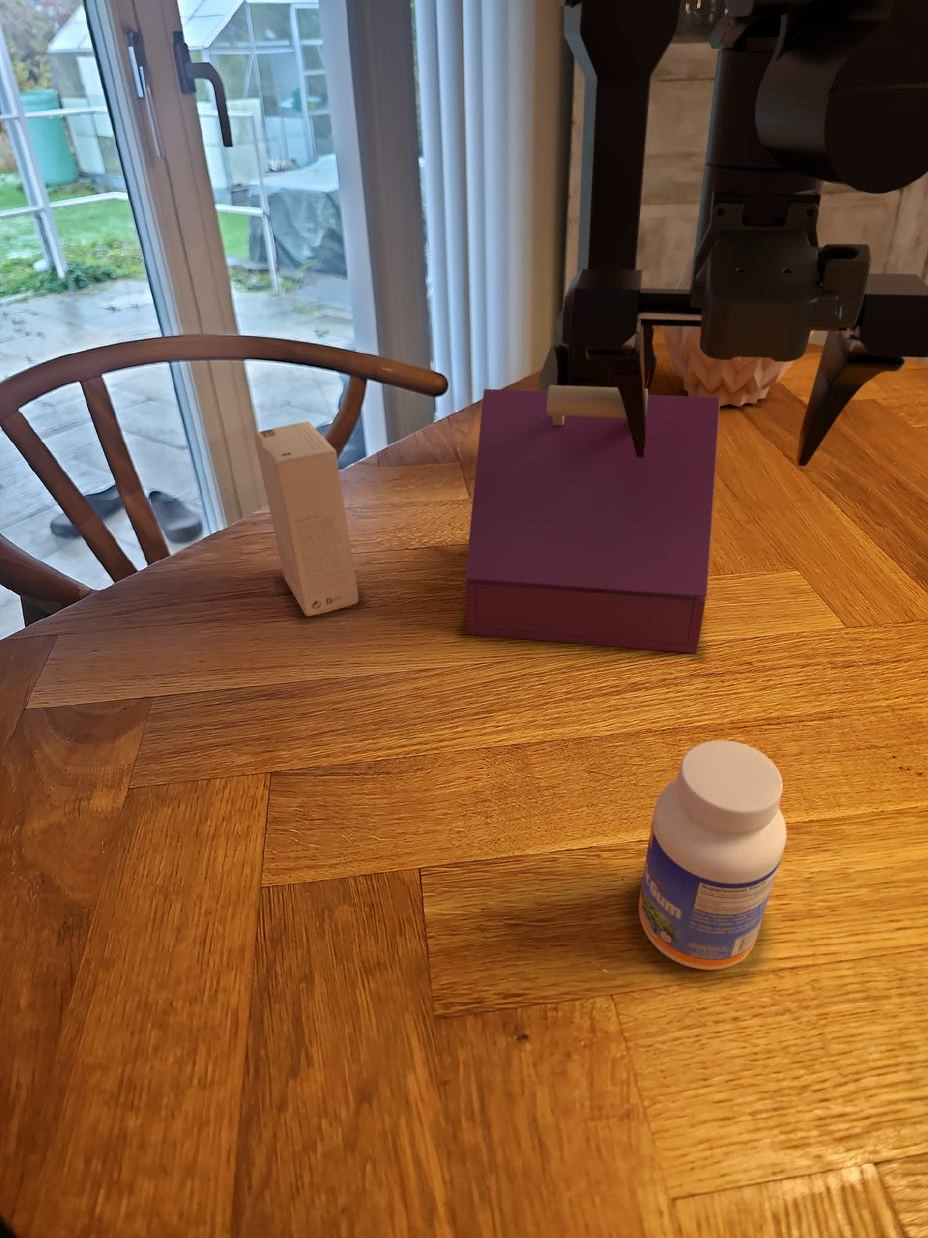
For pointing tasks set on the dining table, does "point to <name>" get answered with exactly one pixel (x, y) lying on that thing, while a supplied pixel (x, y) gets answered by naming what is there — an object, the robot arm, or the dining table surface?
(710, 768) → the pill bottle
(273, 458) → the cosmetic box
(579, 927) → the dining table surface
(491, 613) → the case
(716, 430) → the case cover
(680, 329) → the vase
